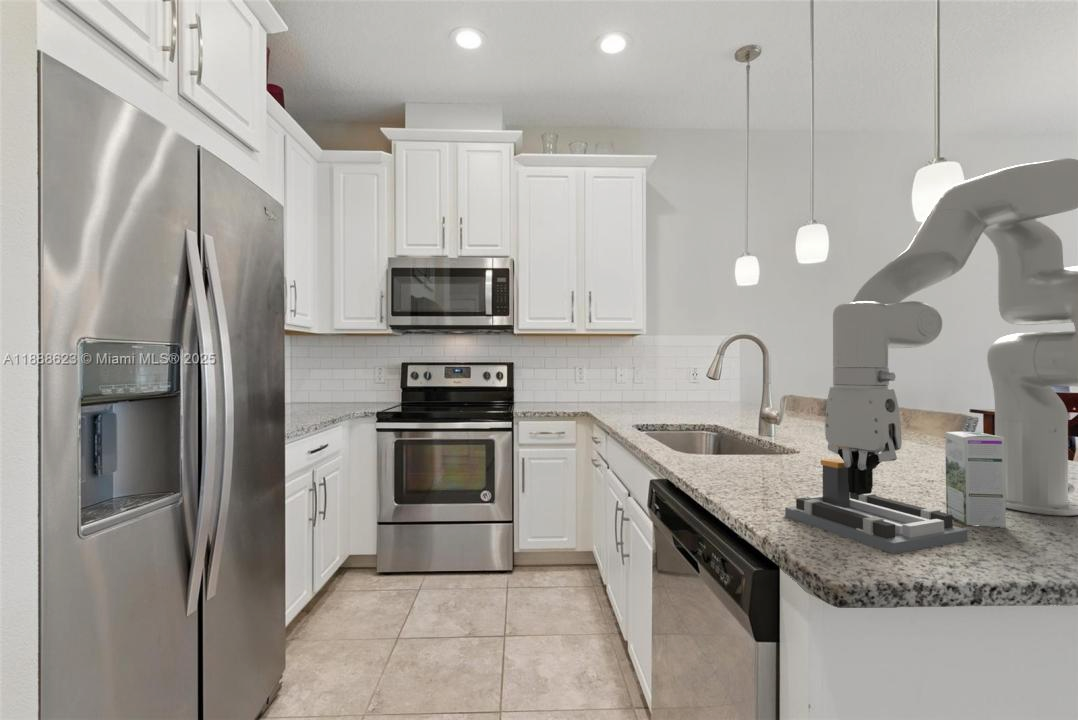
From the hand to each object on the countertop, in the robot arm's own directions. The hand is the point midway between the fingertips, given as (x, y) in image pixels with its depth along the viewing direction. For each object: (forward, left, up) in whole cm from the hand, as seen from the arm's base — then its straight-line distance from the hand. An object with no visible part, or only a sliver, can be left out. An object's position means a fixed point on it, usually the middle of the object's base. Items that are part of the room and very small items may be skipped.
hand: (860, 492), depth 81 cm
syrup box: (-19, +6, -5) cm, 20 cm away
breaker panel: (0, +2, -5) cm, 5 cm away
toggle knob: (0, -4, -3) cm, 5 cm away
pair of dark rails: (0, +2, -4) cm, 4 cm away
